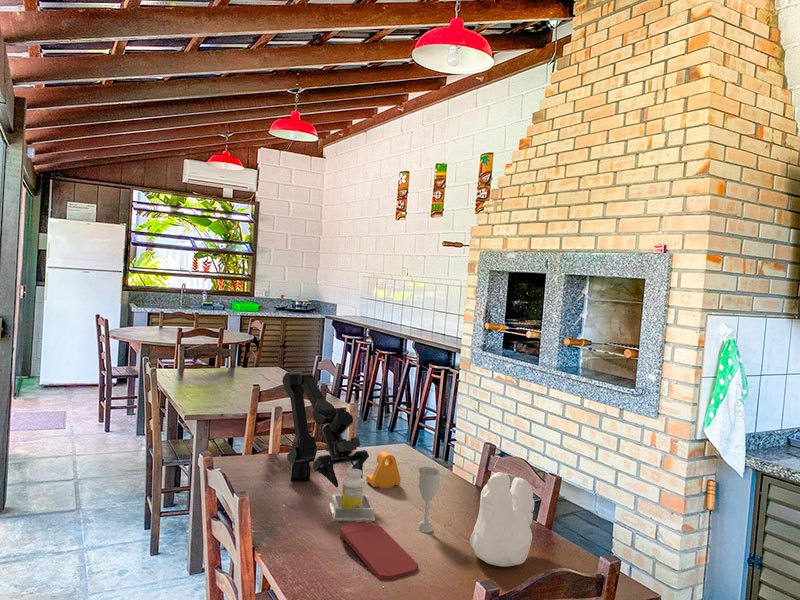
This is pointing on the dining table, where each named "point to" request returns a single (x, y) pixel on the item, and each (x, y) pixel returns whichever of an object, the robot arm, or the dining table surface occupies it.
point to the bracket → (385, 472)
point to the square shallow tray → (351, 510)
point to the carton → (378, 550)
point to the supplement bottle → (352, 489)
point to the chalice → (428, 493)
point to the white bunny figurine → (504, 521)
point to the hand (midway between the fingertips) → (349, 484)
